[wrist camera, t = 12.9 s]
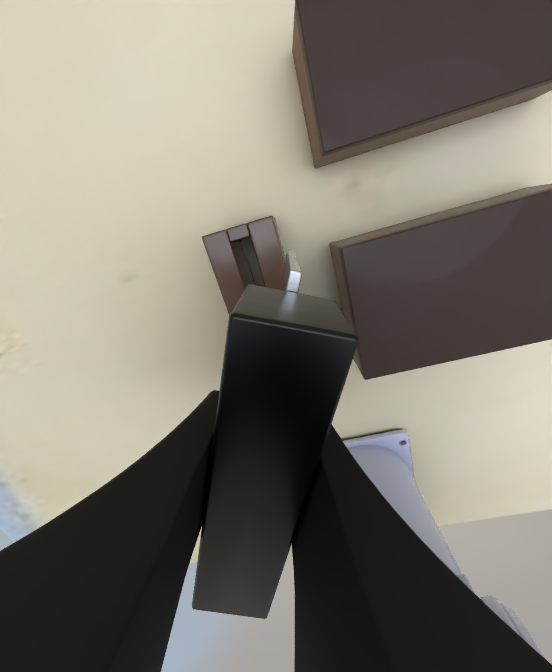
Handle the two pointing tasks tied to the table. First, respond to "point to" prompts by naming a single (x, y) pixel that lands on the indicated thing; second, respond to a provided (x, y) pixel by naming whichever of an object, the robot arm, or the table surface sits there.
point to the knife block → (233, 261)
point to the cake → (449, 283)
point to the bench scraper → (268, 438)
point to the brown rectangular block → (413, 66)
